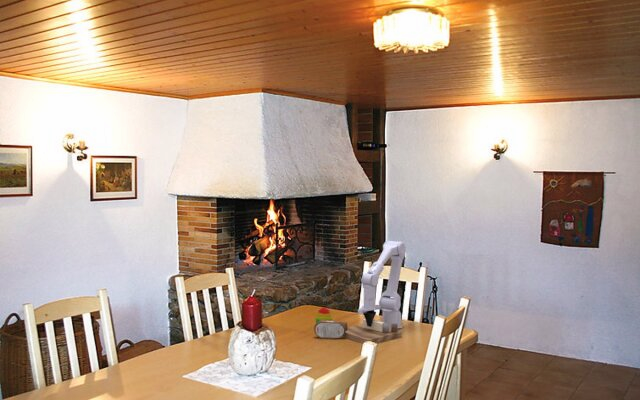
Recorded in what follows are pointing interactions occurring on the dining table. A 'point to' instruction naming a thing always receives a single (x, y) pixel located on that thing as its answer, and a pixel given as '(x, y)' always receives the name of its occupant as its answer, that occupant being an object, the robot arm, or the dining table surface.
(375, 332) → the stool seat
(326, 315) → the decorative egg
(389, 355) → the dining table surface
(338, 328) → the tin
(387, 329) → the folding leg
